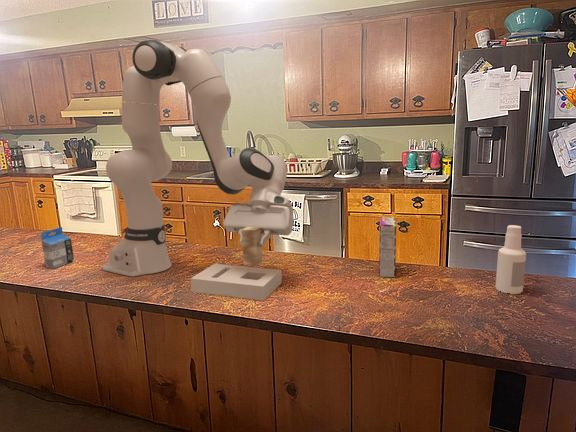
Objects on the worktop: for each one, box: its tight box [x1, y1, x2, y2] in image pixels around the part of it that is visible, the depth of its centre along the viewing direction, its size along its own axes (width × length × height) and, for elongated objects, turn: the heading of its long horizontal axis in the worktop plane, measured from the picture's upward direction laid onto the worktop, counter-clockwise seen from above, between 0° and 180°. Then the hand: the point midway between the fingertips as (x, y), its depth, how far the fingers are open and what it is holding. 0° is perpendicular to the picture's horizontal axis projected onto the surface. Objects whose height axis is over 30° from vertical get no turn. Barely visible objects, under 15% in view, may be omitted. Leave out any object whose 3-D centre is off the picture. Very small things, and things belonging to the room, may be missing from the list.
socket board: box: [190, 263, 283, 302], centre depth 129 cm, size 22×14×4 cm, turn 71°
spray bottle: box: [494, 224, 527, 295], centre depth 122 cm, size 7×7×18 cm
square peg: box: [242, 227, 263, 267], centre depth 126 cm, size 4×4×10 cm
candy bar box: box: [378, 216, 397, 278], centre depth 139 cm, size 11×5×16 cm, turn 168°
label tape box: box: [40, 226, 75, 270], centre depth 153 cm, size 9×4×12 cm, turn 160°
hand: (251, 245), depth 125 cm, fingers closed on square peg, 4 cm apart
